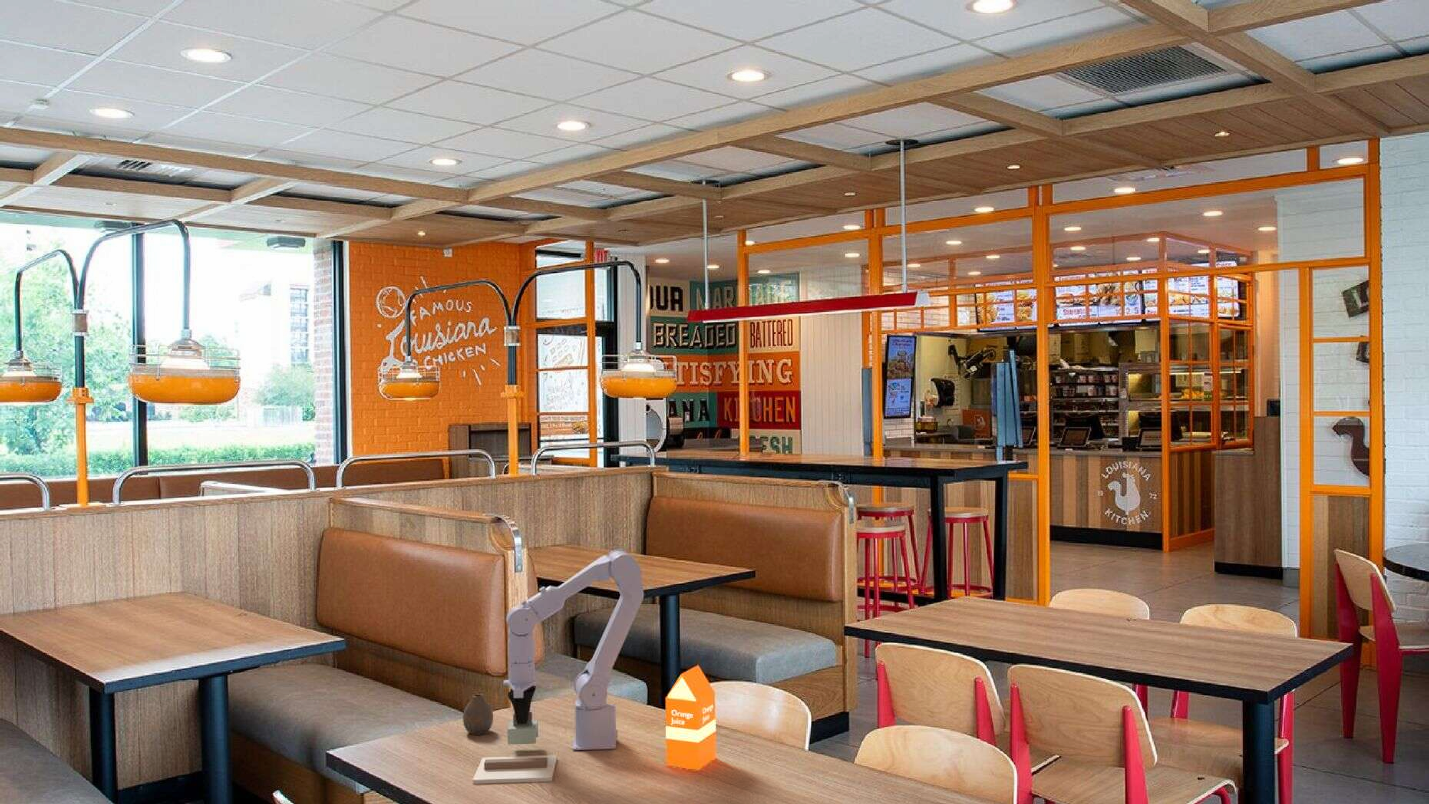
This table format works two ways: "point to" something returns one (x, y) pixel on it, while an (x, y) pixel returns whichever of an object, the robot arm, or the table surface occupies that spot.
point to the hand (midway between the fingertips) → (522, 721)
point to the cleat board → (515, 769)
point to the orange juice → (690, 721)
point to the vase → (478, 715)
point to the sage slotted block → (523, 731)
